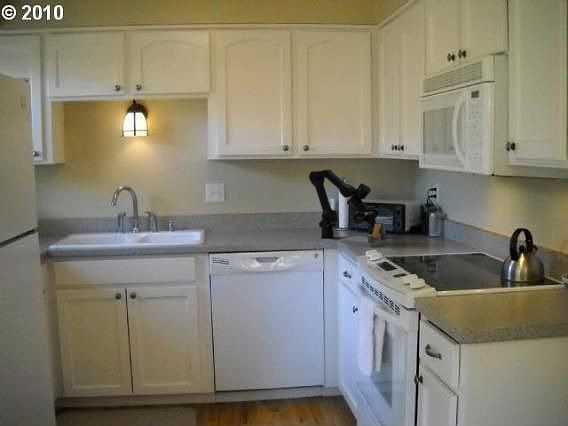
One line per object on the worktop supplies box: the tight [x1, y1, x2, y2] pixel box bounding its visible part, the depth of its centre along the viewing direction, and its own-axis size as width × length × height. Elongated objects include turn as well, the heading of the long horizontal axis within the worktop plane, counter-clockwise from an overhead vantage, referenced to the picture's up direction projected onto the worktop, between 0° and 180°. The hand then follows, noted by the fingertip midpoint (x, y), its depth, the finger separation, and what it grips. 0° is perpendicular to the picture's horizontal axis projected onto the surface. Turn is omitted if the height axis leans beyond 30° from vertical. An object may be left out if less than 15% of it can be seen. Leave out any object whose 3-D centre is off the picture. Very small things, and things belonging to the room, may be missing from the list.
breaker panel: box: [340, 232, 389, 248], centre depth 301 cm, size 20×15×6 cm
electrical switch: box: [367, 221, 386, 235], centre depth 318 cm, size 9×5×9 cm, turn 57°
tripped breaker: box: [372, 223, 381, 240], centre depth 295 cm, size 2×4×9 cm, turn 135°
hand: (375, 227), depth 295 cm, fingers closed, pressing on tripped breaker
